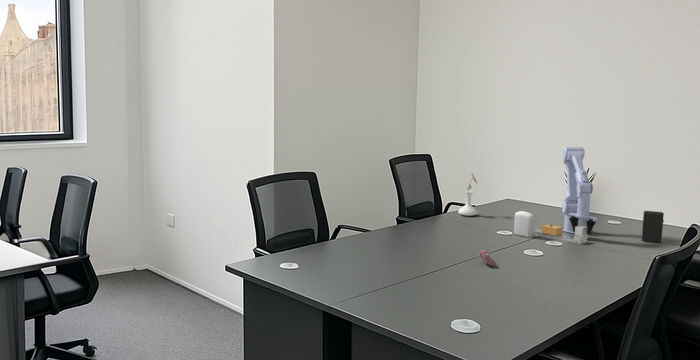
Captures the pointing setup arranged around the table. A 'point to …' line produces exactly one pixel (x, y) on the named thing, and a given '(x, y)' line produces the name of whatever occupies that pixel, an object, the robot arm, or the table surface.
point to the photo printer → (524, 224)
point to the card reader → (652, 226)
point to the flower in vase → (468, 202)
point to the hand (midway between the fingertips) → (581, 233)
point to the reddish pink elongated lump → (486, 258)
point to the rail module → (581, 230)
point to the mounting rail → (564, 237)
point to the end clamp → (552, 229)
